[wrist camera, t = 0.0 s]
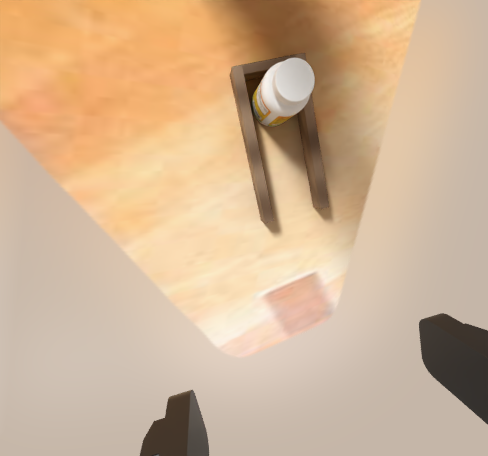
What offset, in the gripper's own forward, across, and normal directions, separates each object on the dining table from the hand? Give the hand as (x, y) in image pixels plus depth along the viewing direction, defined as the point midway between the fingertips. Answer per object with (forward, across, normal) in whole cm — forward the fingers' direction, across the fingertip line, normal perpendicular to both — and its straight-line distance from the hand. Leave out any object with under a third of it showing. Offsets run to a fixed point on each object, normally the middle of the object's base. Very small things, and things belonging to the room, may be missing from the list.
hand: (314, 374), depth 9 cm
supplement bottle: (+30, -9, -14) cm, 34 cm away
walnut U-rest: (+29, -9, -9) cm, 32 cm away
